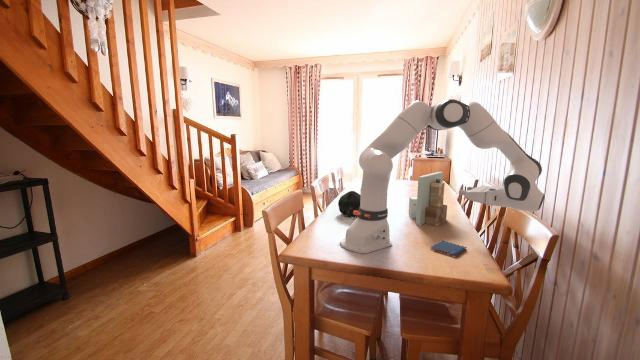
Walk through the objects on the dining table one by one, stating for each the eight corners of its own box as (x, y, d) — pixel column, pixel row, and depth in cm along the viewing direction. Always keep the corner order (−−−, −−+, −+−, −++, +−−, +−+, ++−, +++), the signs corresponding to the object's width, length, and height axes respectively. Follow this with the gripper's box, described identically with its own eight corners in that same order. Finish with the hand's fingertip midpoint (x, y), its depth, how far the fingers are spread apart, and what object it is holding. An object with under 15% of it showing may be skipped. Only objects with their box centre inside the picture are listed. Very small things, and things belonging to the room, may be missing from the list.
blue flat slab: (441, 243, 123) (441, 239, 122) (467, 251, 115) (467, 246, 114) (428, 250, 116) (429, 246, 115) (455, 259, 108) (456, 254, 108)
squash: (352, 200, 171) (342, 183, 162) (374, 205, 161) (364, 188, 152) (340, 219, 166) (328, 203, 157) (361, 226, 156) (350, 210, 146)
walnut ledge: (435, 225, 142) (436, 210, 141) (424, 223, 146) (425, 207, 145) (446, 220, 150) (447, 205, 149) (435, 217, 154) (436, 203, 153)
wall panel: (419, 225, 143) (422, 177, 139) (415, 224, 145) (418, 176, 140) (440, 215, 158) (443, 172, 153) (436, 215, 159) (439, 171, 155)
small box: (423, 215, 159) (424, 196, 157) (426, 218, 154) (427, 199, 152) (408, 215, 160) (409, 196, 158) (410, 218, 155) (411, 198, 153)
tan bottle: (437, 208, 144) (439, 180, 141) (429, 206, 147) (430, 179, 144) (442, 206, 147) (444, 178, 145) (434, 204, 151) (436, 177, 148)
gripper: (505, 185, 132) (472, 180, 142) (489, 191, 118) (455, 186, 128) (503, 198, 133) (471, 193, 143) (487, 206, 119) (453, 200, 129)
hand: (463, 190), depth 135 cm, fingers open, 8 cm apart
